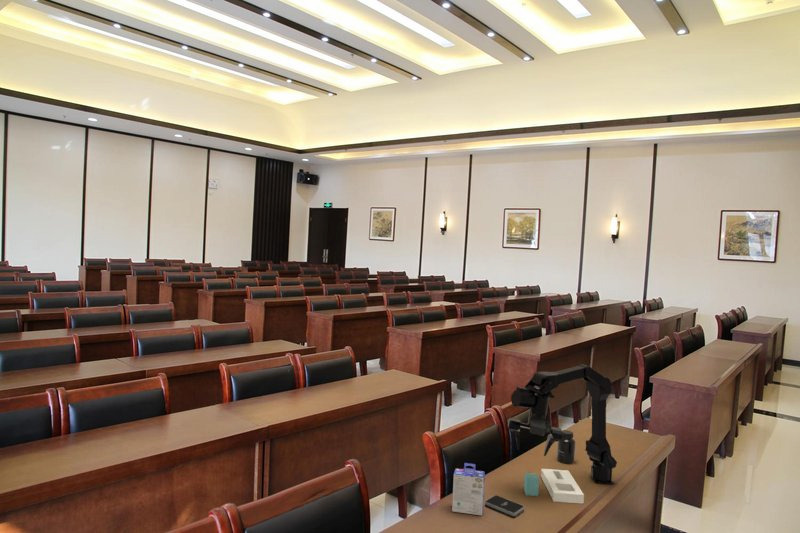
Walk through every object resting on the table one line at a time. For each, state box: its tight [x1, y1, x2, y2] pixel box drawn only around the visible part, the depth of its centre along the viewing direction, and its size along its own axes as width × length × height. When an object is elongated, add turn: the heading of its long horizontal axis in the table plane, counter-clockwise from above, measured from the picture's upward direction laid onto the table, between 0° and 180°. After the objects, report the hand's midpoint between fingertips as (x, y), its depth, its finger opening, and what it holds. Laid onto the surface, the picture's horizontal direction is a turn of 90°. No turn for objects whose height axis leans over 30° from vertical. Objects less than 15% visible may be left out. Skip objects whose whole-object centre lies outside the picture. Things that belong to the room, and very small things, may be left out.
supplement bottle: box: [556, 429, 576, 465], centre depth 209 cm, size 7×7×12 cm
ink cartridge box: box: [451, 462, 486, 516], centre depth 164 cm, size 10×6×14 cm, turn 78°
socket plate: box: [540, 468, 585, 505], centre depth 182 cm, size 10×20×3 cm, turn 176°
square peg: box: [523, 472, 540, 497], centre depth 178 cm, size 4×4×6 cm
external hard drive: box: [484, 494, 525, 519], centre depth 166 cm, size 7×11×2 cm, turn 48°
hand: (531, 452), depth 180 cm, fingers open, 9 cm apart
